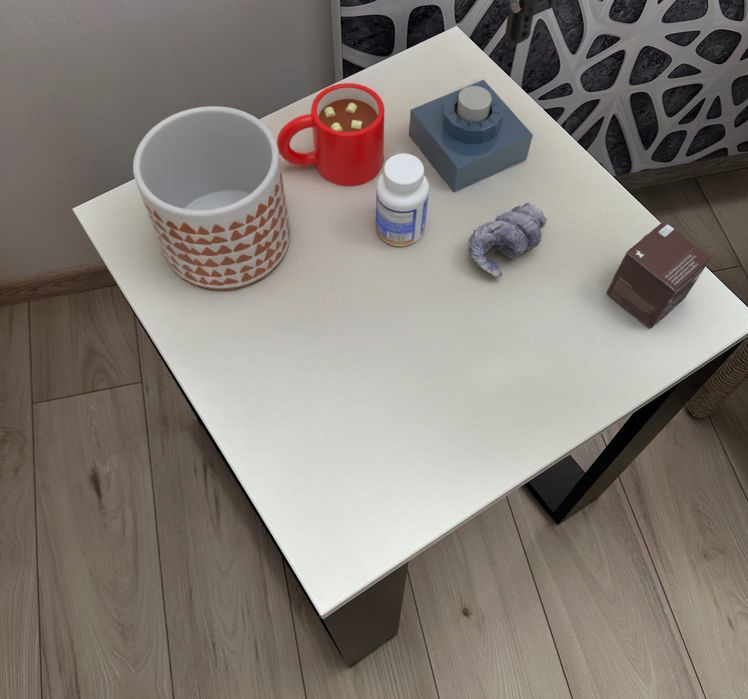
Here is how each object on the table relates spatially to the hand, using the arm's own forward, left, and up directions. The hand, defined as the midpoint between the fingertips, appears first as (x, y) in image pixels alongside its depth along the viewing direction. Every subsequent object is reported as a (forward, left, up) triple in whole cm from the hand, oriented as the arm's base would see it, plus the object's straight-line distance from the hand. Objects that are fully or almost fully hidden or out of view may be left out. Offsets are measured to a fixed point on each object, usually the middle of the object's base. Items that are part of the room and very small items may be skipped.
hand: (488, 18), depth 74 cm
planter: (+30, -2, -18) cm, 35 cm away
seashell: (+4, +14, -18) cm, 23 cm away
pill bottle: (+13, +6, -18) cm, 23 cm away
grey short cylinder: (0, 0, -12) cm, 12 cm away
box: (-5, +26, -18) cm, 32 cm away
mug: (+15, -6, -18) cm, 24 cm away
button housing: (0, 0, -18) cm, 18 cm away
